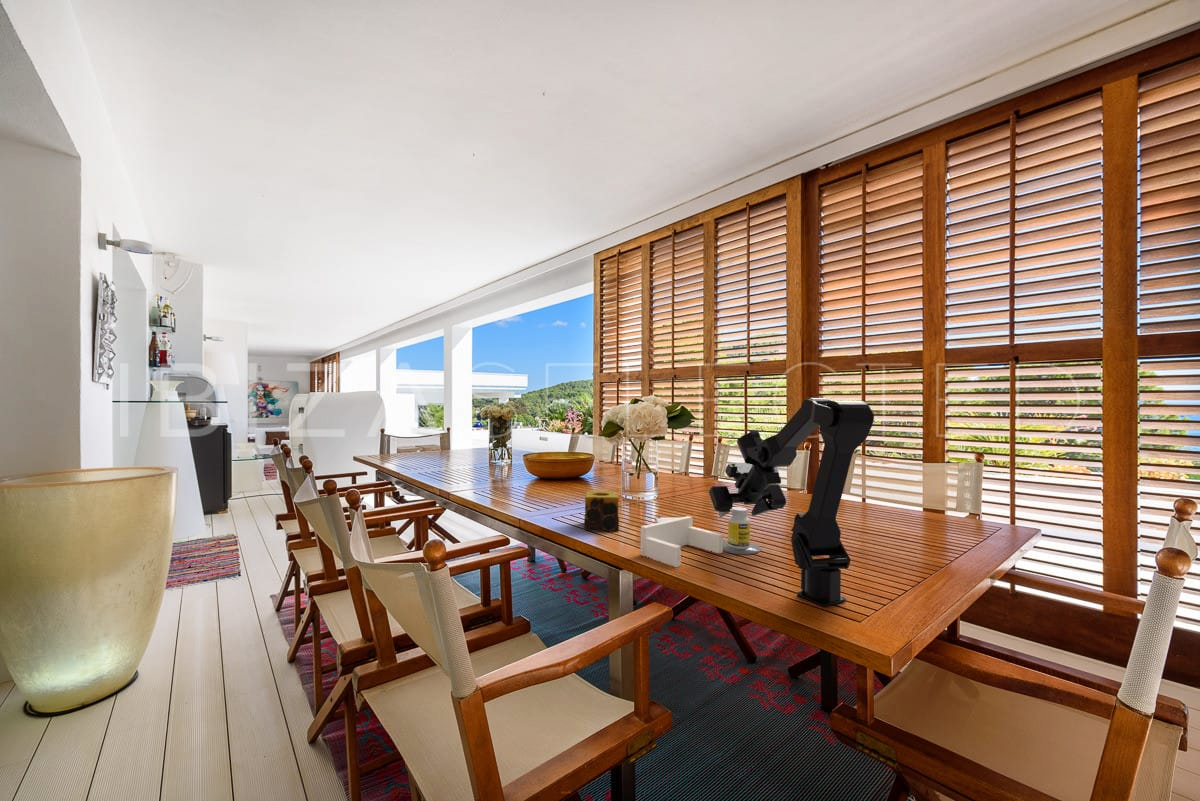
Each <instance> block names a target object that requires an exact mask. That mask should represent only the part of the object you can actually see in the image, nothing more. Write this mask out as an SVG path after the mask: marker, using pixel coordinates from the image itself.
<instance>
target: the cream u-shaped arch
mask: <svg viewBox="0 0 1200 801" xmlns="http://www.w3.org/2000/svg"><path fill="white" fill-rule="evenodd" d="M676 518H677V519H673V520H668V521H664V522H659V523H651V524H645V525H641V526H640V556H642V555H644V556H643V557H645V556H647V557H646V558H648V557H650V558H649V559H651V558H652V559H651V560H654V561H656V562H659V561H660V562H659V563H662V564H665V565H669V566H672V567H674V568H678V567H680V566H681V560H682V559H681V557H682V556H681V552H682V551H681V550H682V548H681V547H685V546H687V545H689V546H692V547H695V548H699V549H701V550H702V549H703V550H706V551H707V552H711V551H712V553H715V554H719V553H720V554H722V553H723V552H724V551H723V541H724V534H722V533H719V532H714V531H710V530H708V529H707V530H706V529H703V528H698V527H695V526H693V519H694V518H693V516H689V515H686V516H683V517H676ZM720 554H719V555H720Z"/></svg>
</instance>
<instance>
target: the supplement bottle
mask: <svg viewBox="0 0 1200 801" xmlns="http://www.w3.org/2000/svg"><path fill="white" fill-rule="evenodd" d="M730 513H731V515H730V516H729V517H728V521H727V522H728V525H727V526H728V527H727V528H728V529H727V530H728V532H727V540H728V545H729V546H730V547H732V548H736V549H747V548H749V546H750V542H751V539H750V538H751V519H750V518H749V517H748V509H747V508H745V507H740V506H737V507H734V506H733V507H732V509H730Z"/></svg>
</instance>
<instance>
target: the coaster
mask: <svg viewBox="0 0 1200 801" xmlns="http://www.w3.org/2000/svg"><path fill="white" fill-rule="evenodd" d="M761 551H762V548H761V546H760V545H758V544H756V543H753V542H751V541H750V546H749V548H747V549H736V548H732V547H730V546H729V545H728V539H727V540H723V552H725V553H729V554H732V555H733V554H734V555H756V554H758V553H760V552H761Z"/></svg>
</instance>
